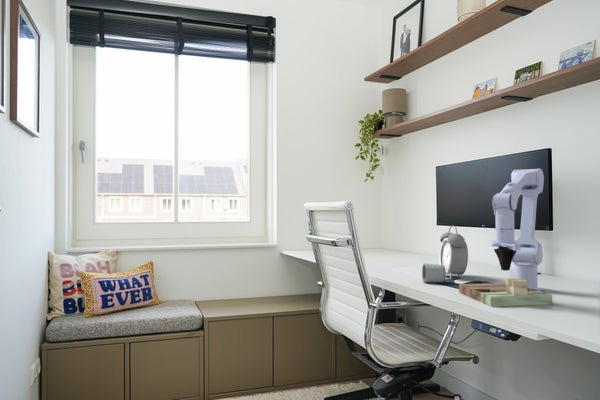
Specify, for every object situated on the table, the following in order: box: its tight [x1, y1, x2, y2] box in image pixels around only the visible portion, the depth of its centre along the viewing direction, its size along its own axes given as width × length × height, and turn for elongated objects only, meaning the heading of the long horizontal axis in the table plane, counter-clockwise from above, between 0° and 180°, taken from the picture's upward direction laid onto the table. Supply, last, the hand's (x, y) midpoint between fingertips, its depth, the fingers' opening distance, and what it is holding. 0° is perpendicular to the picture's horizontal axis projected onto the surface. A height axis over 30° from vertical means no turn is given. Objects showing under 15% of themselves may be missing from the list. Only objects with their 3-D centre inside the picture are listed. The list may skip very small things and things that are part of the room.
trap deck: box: [458, 282, 553, 307], centre depth 154 cm, size 22×20×3 cm
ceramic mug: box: [421, 262, 447, 284], centre depth 186 cm, size 11×8×8 cm
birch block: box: [505, 277, 527, 295], centre depth 145 cm, size 4×4×4 cm
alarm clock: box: [438, 225, 469, 280], centre depth 199 cm, size 16×9×22 cm, turn 0°
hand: (505, 270), depth 154 cm, fingers closed
